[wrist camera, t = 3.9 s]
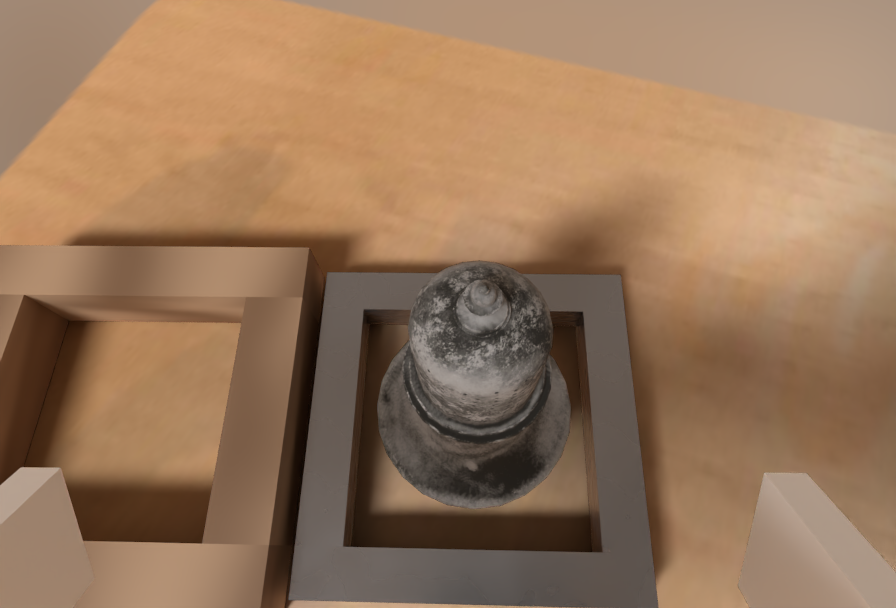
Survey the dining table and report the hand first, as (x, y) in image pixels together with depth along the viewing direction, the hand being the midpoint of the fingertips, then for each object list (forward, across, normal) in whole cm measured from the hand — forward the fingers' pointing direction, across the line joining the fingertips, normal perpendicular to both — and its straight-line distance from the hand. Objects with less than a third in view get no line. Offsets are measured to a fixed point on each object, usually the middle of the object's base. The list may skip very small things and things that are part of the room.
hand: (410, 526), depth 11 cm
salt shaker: (+9, +1, -4) cm, 10 cm away
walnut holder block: (+9, -11, -4) cm, 14 cm away
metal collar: (+9, +1, -4) cm, 10 cm away
